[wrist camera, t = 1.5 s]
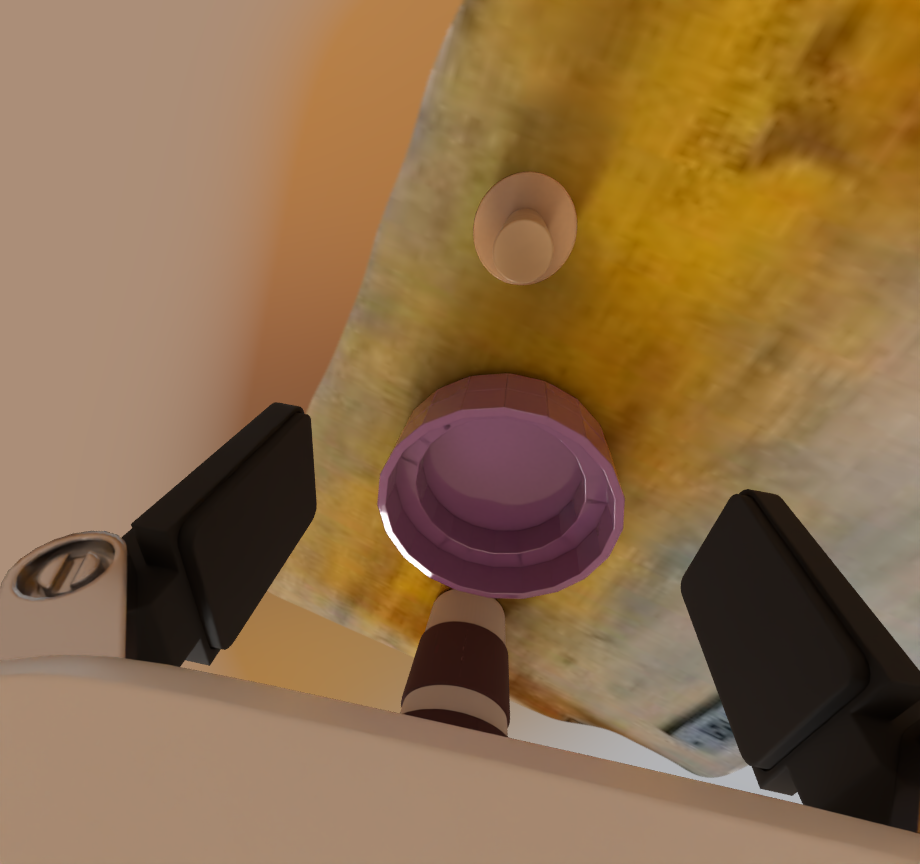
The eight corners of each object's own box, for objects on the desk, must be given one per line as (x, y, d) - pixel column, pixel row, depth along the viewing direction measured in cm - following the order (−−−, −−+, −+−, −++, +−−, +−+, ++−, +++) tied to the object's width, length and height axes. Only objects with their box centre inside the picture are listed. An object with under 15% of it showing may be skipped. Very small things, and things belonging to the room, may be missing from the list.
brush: (552, 153, 23) (570, 129, 13) (584, 251, 25) (619, 290, 15) (463, 203, 25) (423, 213, 15) (500, 290, 27) (485, 347, 17)
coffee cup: (534, 631, 43) (537, 821, 30) (450, 648, 46) (420, 826, 33) (491, 565, 39) (473, 751, 26) (402, 589, 42) (348, 764, 30)
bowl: (566, 332, 27) (574, 366, 22) (634, 514, 34) (653, 573, 29) (363, 415, 33) (332, 458, 28) (455, 558, 39) (444, 615, 34)
